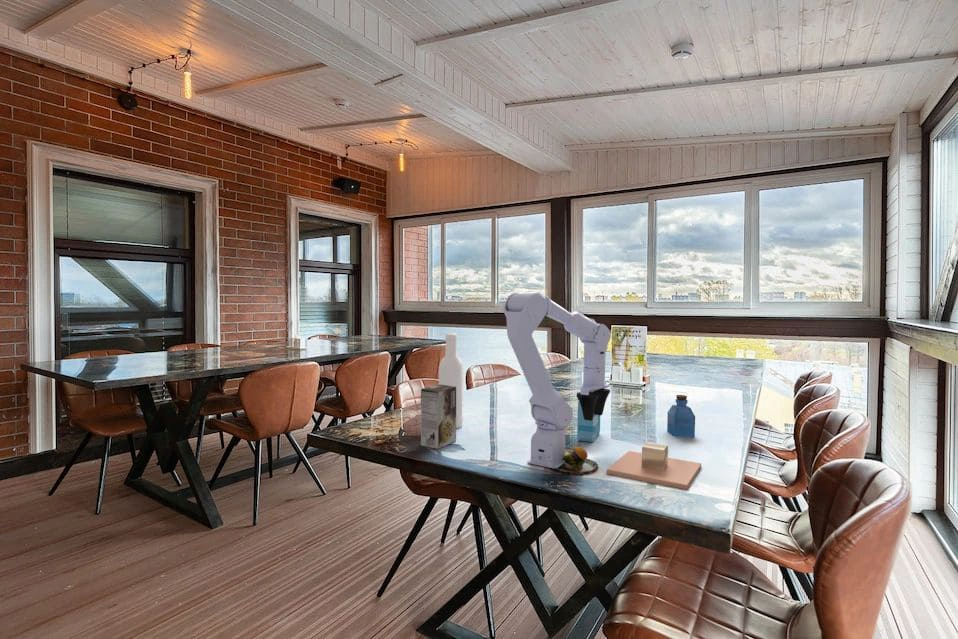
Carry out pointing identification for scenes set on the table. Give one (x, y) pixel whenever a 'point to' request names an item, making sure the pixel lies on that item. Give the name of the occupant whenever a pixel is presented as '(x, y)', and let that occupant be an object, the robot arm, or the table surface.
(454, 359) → the bottle
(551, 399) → the robot arm
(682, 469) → the terracotta tile
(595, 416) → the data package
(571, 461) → the burger
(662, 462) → the birch cube
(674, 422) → the perfume bottle
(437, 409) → the coffee box
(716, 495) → the table surface
